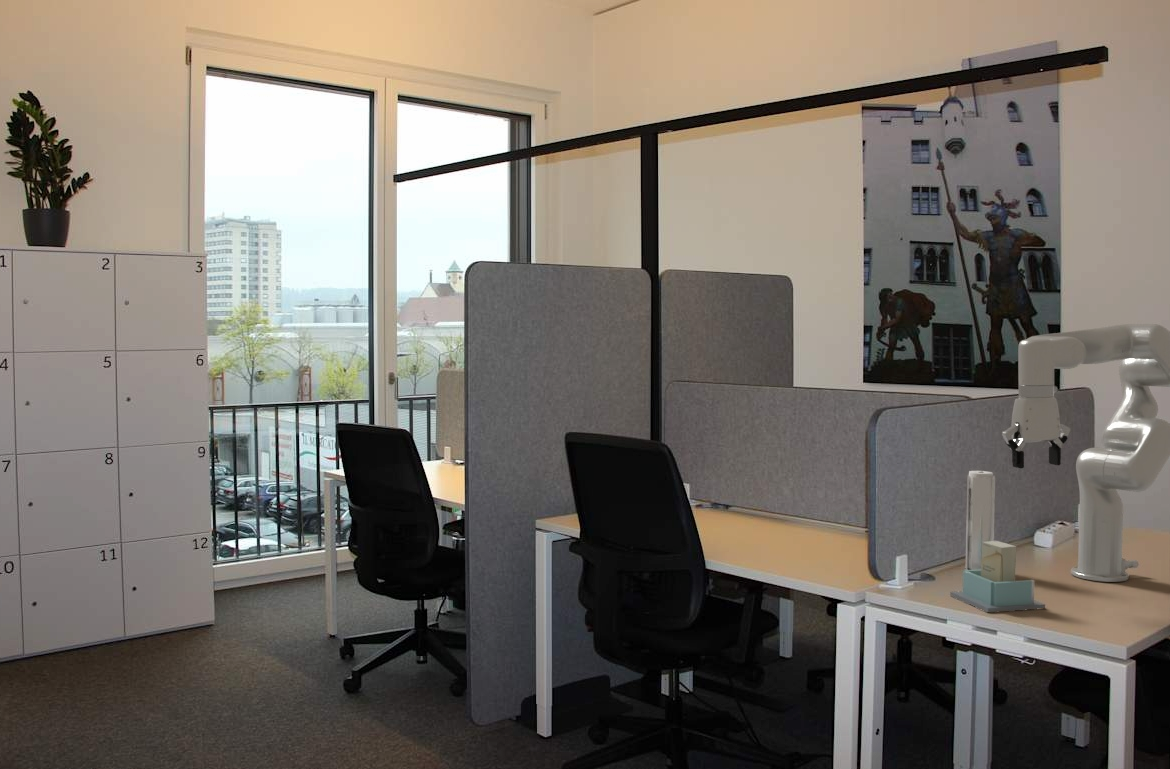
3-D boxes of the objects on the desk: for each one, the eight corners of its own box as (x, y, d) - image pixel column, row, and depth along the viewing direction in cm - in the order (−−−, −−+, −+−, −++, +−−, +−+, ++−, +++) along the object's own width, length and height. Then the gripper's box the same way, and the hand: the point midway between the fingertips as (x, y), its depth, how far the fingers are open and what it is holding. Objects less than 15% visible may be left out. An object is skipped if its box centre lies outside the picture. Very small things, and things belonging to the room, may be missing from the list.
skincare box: (979, 595, 224) (980, 541, 223) (995, 593, 226) (996, 540, 225) (1000, 602, 218) (1001, 547, 218) (1016, 600, 220) (1017, 545, 219)
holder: (1004, 592, 230) (1005, 566, 230) (1045, 608, 217) (1045, 581, 216) (950, 595, 227) (950, 569, 227) (987, 612, 214) (988, 585, 213)
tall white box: (995, 574, 247) (997, 473, 246) (967, 572, 249) (969, 473, 247) (990, 567, 254) (992, 470, 252) (963, 566, 255) (965, 469, 254)
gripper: (1057, 389, 236) (1057, 461, 237) (993, 393, 232) (993, 466, 233) (1080, 391, 228) (1080, 465, 230) (1013, 395, 225) (1014, 471, 226)
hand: (1036, 466), depth 231 cm, fingers open, 9 cm apart
